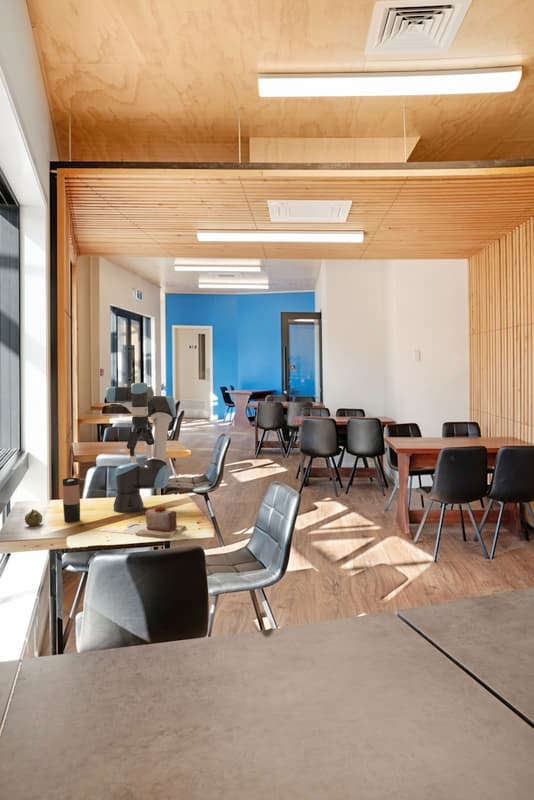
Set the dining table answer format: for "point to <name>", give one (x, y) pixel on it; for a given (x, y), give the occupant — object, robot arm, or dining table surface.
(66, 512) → the travel mug
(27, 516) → the onion
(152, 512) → the food item
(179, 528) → the beige cloth
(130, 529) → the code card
